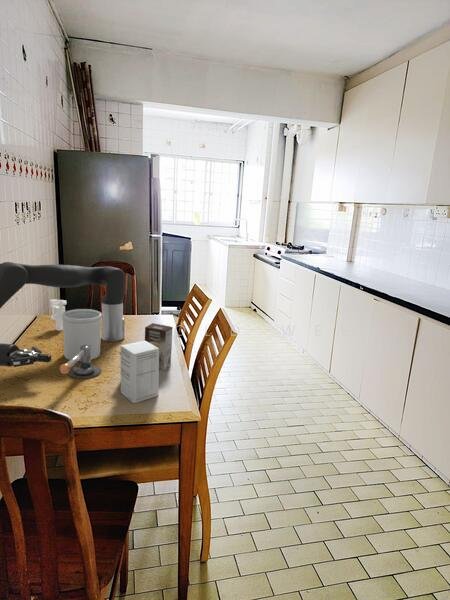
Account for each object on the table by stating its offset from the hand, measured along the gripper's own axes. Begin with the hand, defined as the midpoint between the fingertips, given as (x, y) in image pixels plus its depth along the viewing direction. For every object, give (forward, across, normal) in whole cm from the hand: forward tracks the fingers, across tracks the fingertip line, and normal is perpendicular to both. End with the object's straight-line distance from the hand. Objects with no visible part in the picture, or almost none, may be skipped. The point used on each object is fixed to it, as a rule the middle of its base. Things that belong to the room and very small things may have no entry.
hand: (50, 358), depth 131 cm
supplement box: (+31, +3, -9) cm, 33 cm away
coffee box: (+32, -21, -9) cm, 40 cm away
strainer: (-23, -55, -9) cm, 61 cm away
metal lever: (+8, -2, -8) cm, 11 cm away
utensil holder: (0, -26, -9) cm, 28 cm away
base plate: (+8, -10, -9) cm, 15 cm away
